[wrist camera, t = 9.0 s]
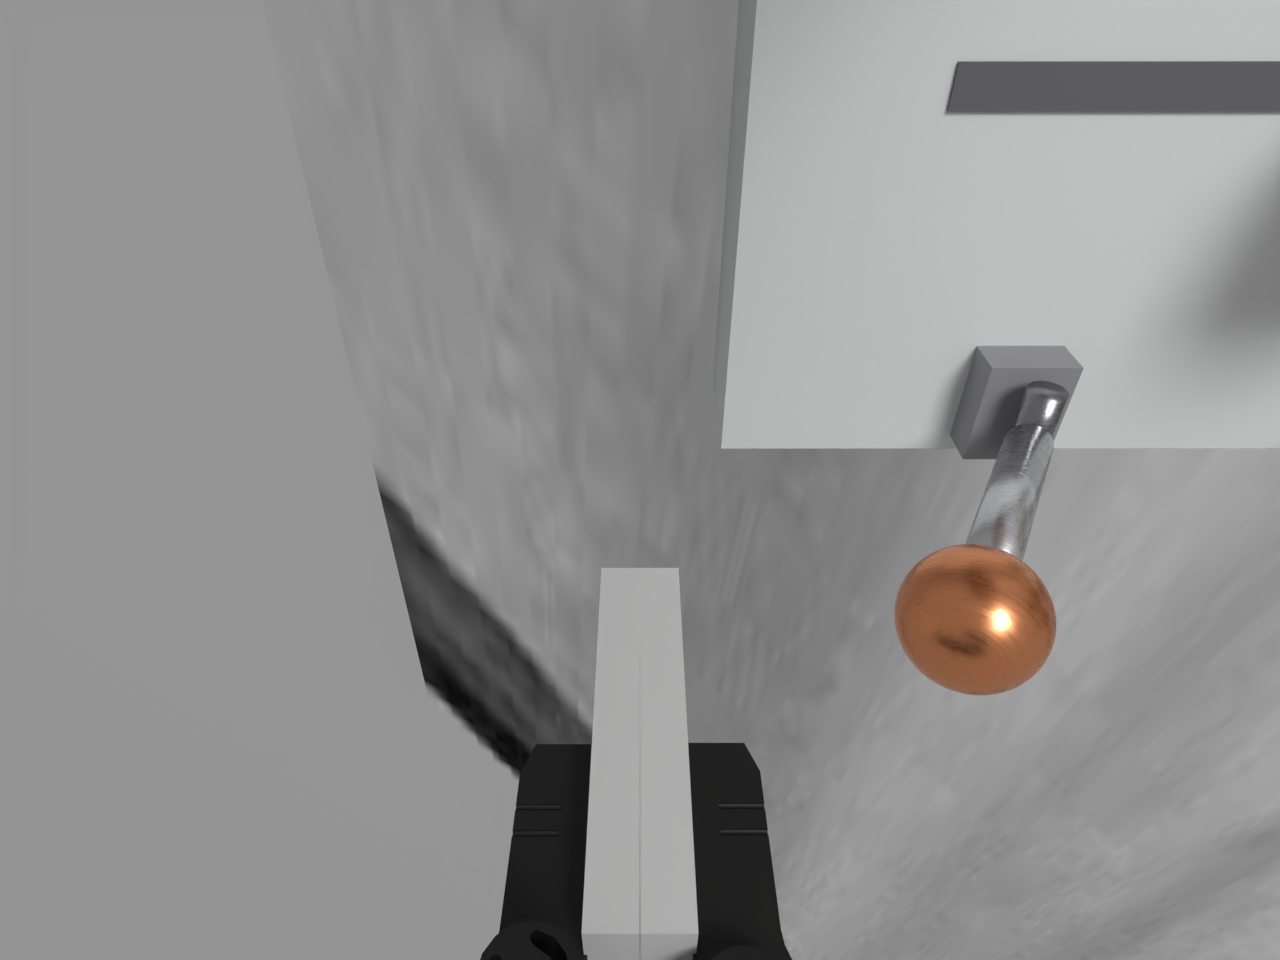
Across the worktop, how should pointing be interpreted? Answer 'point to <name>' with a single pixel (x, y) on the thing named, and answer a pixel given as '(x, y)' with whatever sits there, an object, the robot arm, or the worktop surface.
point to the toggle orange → (989, 573)
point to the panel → (1001, 223)
